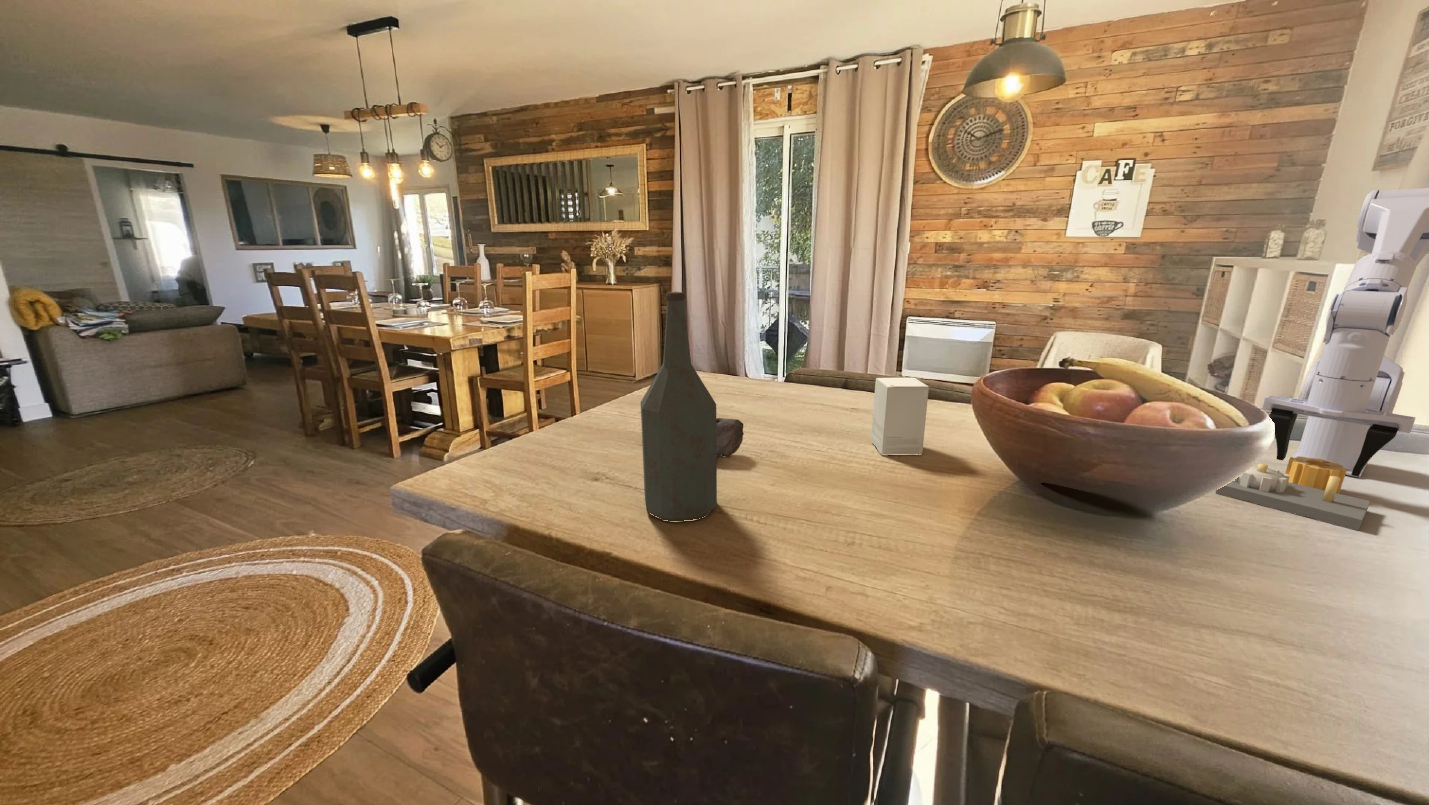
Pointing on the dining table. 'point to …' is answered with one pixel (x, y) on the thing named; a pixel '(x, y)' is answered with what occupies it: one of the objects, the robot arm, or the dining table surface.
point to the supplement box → (899, 415)
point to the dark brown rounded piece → (728, 436)
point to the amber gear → (1314, 472)
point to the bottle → (678, 430)
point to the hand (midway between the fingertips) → (1316, 466)
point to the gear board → (1297, 497)
